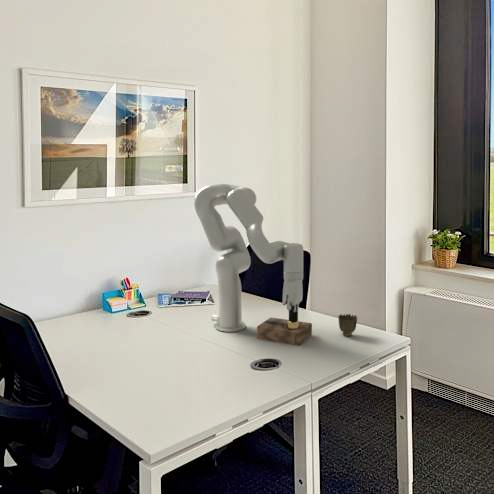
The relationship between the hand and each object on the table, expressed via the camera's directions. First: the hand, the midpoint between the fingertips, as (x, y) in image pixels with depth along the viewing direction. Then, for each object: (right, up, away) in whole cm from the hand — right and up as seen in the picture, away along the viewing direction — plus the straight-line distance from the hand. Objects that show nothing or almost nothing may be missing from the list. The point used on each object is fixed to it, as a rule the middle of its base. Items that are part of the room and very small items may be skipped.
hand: (293, 320), depth 219 cm
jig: (-3, -7, +3) cm, 8 cm away
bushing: (0, -7, +1) cm, 7 cm away
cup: (+22, -7, +4) cm, 23 cm away
